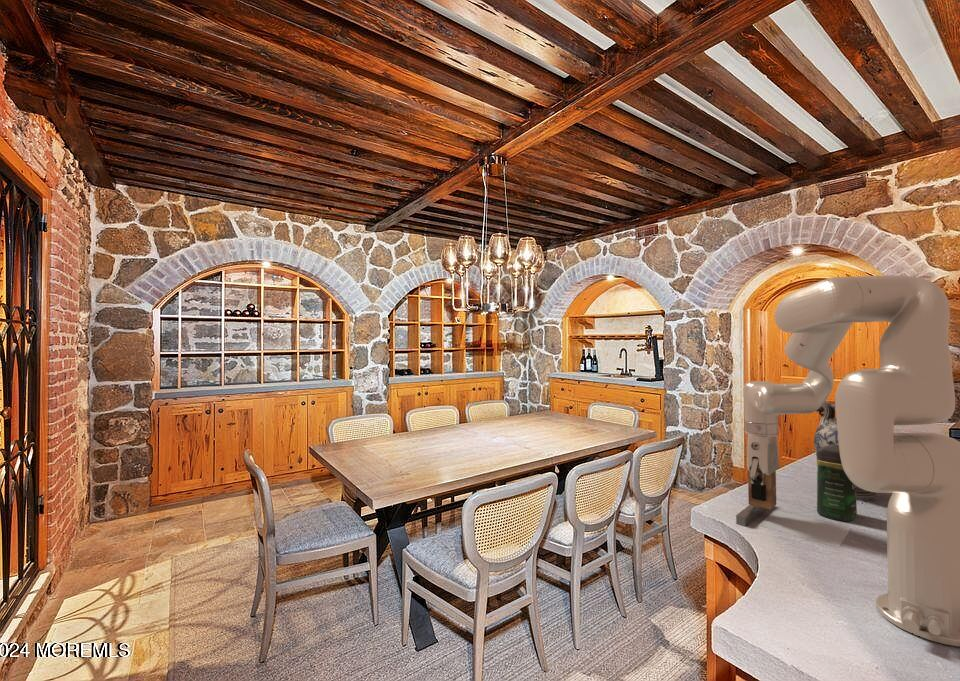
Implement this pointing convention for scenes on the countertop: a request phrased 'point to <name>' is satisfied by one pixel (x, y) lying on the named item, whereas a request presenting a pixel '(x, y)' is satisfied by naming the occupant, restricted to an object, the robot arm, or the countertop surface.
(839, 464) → the coffee jar
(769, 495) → the walnut block
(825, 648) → the countertop surface
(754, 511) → the steel bar
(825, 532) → the mat
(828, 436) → the decorative vase
